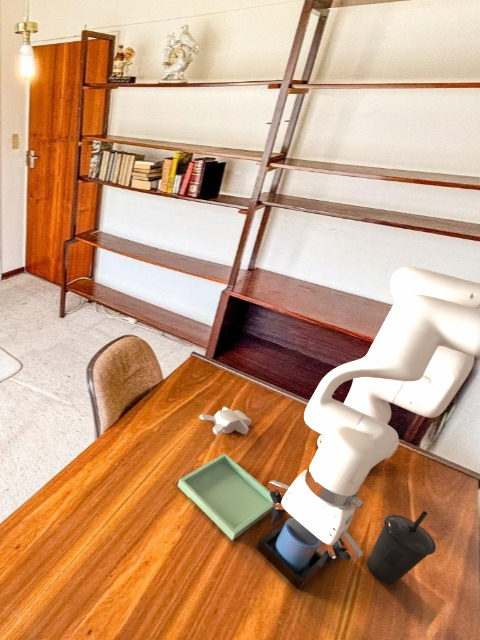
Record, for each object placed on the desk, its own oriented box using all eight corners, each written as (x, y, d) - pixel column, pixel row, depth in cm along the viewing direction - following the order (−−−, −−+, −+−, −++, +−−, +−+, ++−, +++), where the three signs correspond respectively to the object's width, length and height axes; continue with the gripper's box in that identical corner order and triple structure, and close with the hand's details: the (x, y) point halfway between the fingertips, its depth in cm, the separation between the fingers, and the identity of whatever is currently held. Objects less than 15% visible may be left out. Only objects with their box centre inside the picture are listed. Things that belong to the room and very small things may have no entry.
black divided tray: (299, 515, 95) (304, 506, 94) (340, 549, 88) (346, 540, 87) (255, 550, 87) (260, 541, 86) (297, 591, 80) (303, 582, 79)
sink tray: (221, 459, 109) (224, 452, 108) (277, 507, 97) (280, 500, 95) (177, 486, 101) (179, 479, 100) (231, 541, 89) (234, 534, 88)
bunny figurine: (261, 423, 116) (222, 430, 111) (255, 436, 118) (216, 443, 113) (237, 401, 124) (199, 406, 119) (231, 414, 126) (194, 419, 121)
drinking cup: (412, 597, 80) (464, 537, 71) (370, 588, 81) (416, 527, 72) (389, 558, 87) (433, 498, 78) (350, 550, 88) (390, 490, 79)
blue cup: (282, 538, 89) (296, 512, 85) (311, 564, 85) (327, 538, 81) (266, 551, 87) (279, 525, 83) (295, 579, 82) (310, 553, 78)
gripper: (392, 515, 70) (354, 571, 77) (293, 445, 84) (268, 498, 91) (373, 534, 67) (334, 591, 74) (273, 458, 80) (248, 513, 87)
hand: (298, 540), depth 82 cm, fingers open, 9 cm apart
